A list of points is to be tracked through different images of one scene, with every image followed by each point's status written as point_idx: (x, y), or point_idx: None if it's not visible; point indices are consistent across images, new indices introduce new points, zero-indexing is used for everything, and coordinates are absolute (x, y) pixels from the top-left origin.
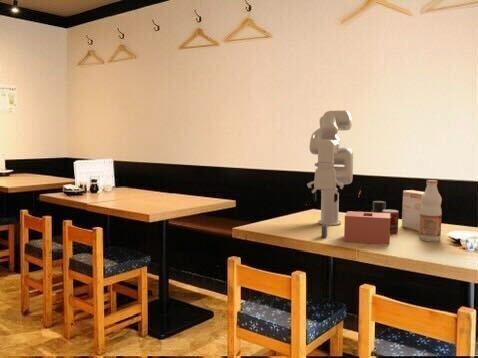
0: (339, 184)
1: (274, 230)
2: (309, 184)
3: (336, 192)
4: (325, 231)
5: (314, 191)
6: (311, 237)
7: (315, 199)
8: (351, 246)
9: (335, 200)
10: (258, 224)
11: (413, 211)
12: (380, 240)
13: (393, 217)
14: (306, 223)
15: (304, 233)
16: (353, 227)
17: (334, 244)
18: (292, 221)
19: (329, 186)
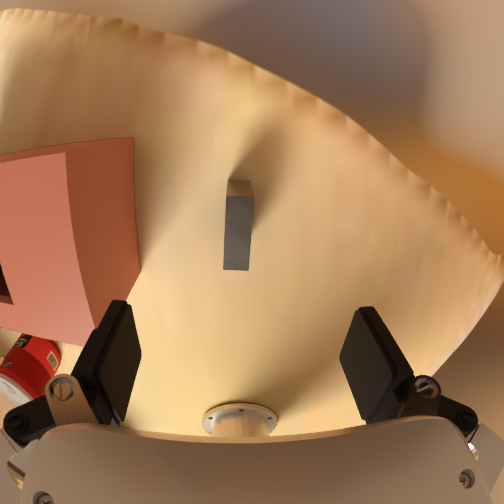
0: (8, 492)
1: (432, 285)
2: (489, 458)
3: (65, 396)
4: (228, 187)
5: (415, 396)
6: (300, 187)
7: (358, 333)
8: (101, 56)
9: (107, 310)
10: (450, 346)
11: (2, 408)
12: (4, 155)
13: (3, 362)
14: (313, 406)
15: (332, 265)
16: (58, 148)
17: (175, 62)
18: (352, 411)
19: (136, 499)
